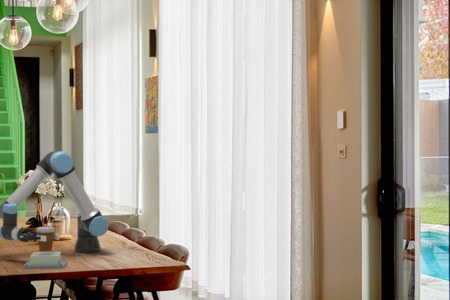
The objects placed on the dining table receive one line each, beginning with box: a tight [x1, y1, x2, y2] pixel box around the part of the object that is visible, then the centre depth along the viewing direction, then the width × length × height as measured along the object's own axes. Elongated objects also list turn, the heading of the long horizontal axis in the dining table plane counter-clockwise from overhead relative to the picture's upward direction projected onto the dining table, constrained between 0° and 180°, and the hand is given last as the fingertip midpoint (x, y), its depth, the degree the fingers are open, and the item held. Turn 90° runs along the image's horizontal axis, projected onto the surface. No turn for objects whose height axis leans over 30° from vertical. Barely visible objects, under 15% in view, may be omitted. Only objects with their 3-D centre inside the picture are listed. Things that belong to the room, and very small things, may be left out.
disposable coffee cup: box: [35, 226, 56, 252], centre depth 400 cm, size 10×10×12 cm
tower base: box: [22, 251, 68, 270], centre depth 401 cm, size 20×20×6 cm
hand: (52, 237), depth 398 cm, fingers closed on disposable coffee cup, 8 cm apart
